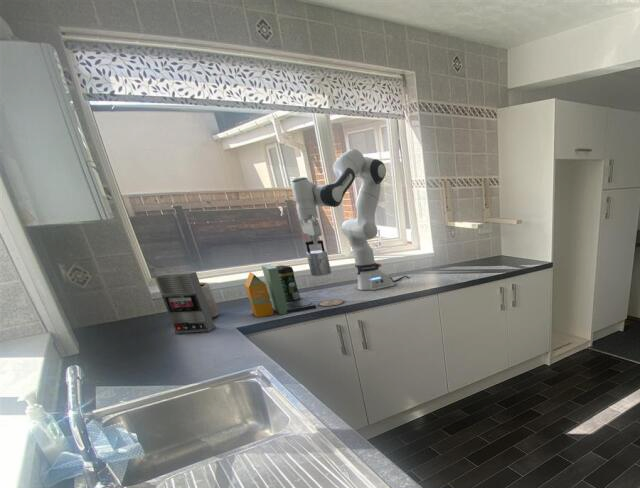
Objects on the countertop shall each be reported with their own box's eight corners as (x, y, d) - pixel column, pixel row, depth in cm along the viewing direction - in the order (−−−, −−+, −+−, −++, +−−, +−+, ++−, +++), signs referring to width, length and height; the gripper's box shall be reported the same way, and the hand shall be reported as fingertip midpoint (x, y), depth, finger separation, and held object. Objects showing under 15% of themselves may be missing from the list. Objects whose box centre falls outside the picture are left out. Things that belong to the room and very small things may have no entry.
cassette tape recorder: (175, 334, 183) (152, 276, 172) (182, 330, 188) (160, 273, 178) (209, 331, 185) (188, 274, 174) (215, 327, 190) (196, 271, 179)
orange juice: (257, 317, 204) (244, 275, 195) (252, 313, 210) (240, 273, 201) (274, 313, 209) (263, 273, 200) (269, 310, 215) (258, 270, 206)
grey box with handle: (327, 271, 223) (320, 239, 216) (335, 274, 214) (328, 241, 207) (309, 273, 218) (301, 241, 211) (316, 277, 209) (308, 243, 202)
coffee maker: (308, 302, 228) (298, 260, 218) (317, 307, 217) (306, 264, 208) (273, 308, 218) (261, 265, 208) (280, 314, 207) (267, 269, 198)
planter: (168, 325, 195) (155, 292, 188) (187, 315, 211) (175, 283, 204) (210, 322, 198) (199, 289, 191) (225, 312, 214) (215, 281, 207)
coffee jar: (279, 300, 234) (270, 266, 226) (292, 297, 240) (284, 263, 231) (289, 302, 229) (280, 267, 221) (302, 299, 235) (294, 265, 227)
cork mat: (338, 299, 232) (338, 298, 232) (346, 303, 223) (346, 302, 223) (316, 303, 225) (316, 302, 225) (323, 307, 217) (323, 306, 217)
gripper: (321, 215, 199) (327, 245, 205) (308, 213, 213) (315, 241, 220) (307, 216, 195) (314, 247, 202) (295, 214, 210) (302, 243, 216)
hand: (314, 244), depth 211 cm, fingers closed on grey box with handle
